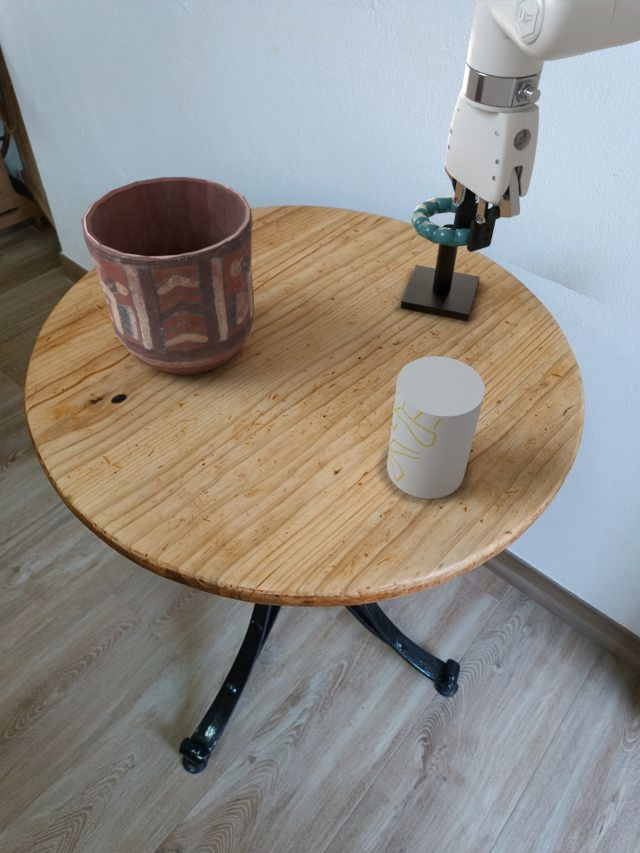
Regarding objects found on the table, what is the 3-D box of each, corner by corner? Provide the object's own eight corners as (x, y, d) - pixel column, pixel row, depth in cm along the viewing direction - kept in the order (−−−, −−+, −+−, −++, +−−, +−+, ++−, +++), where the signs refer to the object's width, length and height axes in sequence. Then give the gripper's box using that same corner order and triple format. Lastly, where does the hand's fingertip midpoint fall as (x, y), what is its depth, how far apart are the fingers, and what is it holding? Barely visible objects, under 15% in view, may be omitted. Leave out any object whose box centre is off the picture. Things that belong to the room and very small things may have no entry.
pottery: (200, 285, 95) (181, 159, 82) (288, 343, 87) (283, 212, 73) (89, 344, 86) (49, 213, 73) (175, 415, 78) (147, 281, 65)
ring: (497, 215, 88) (500, 200, 87) (485, 255, 82) (488, 240, 80) (421, 203, 91) (423, 188, 89) (403, 241, 84) (404, 226, 82)
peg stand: (478, 283, 96) (492, 217, 88) (467, 321, 90) (481, 253, 82) (415, 271, 98) (423, 205, 90) (400, 308, 92) (408, 241, 84)
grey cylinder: (375, 449, 74) (383, 366, 66) (443, 432, 76) (460, 349, 68) (404, 507, 69) (418, 424, 60) (477, 487, 71) (500, 405, 62)
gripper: (583, 105, 67) (538, 267, 80) (482, 52, 76) (456, 205, 90) (522, 120, 64) (486, 284, 78) (425, 63, 74) (408, 219, 87)
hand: (470, 240), depth 84 cm, fingers closed on ring, 2 cm apart
